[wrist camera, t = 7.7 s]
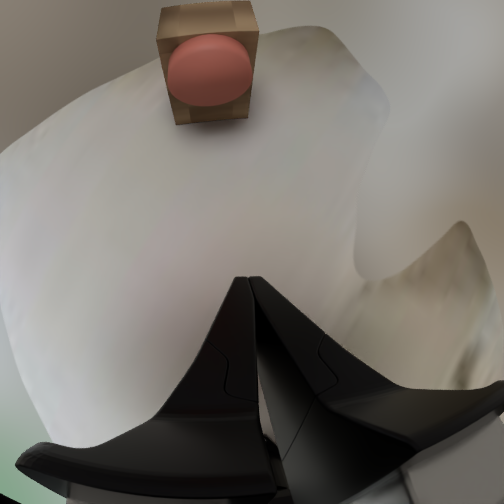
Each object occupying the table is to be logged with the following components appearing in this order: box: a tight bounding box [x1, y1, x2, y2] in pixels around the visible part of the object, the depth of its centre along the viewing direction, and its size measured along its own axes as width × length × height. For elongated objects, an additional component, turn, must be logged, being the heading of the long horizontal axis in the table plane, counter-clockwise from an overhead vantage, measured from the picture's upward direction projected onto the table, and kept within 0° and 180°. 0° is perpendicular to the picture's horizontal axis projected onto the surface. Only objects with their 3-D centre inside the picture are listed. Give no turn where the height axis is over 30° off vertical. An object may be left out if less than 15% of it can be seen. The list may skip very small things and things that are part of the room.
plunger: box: [167, 34, 253, 106], centre depth 18 cm, size 8×6×6 cm
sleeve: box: [156, 1, 259, 125], centre depth 21 cm, size 5×7×11 cm
